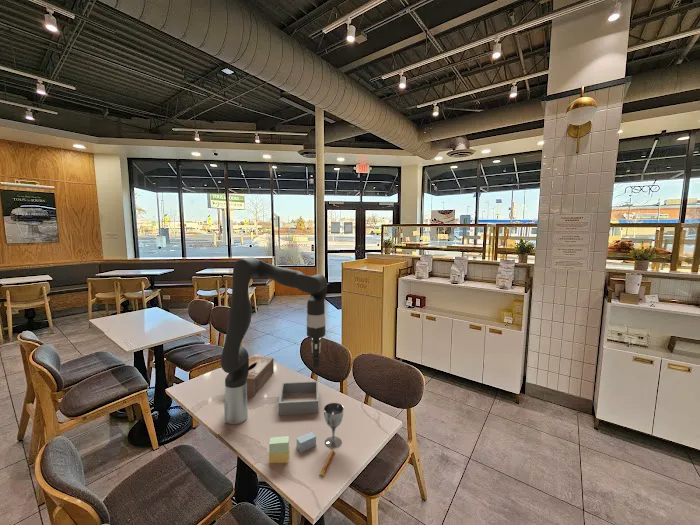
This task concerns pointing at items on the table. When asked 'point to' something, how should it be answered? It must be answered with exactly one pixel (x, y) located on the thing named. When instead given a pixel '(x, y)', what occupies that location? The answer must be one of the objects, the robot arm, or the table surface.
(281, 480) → the table surface
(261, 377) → the tissue box cover
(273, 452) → the sage brick
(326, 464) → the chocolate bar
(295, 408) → the frame
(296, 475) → the table surface
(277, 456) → the ochre brick
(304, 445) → the slate brick
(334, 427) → the wine glass
